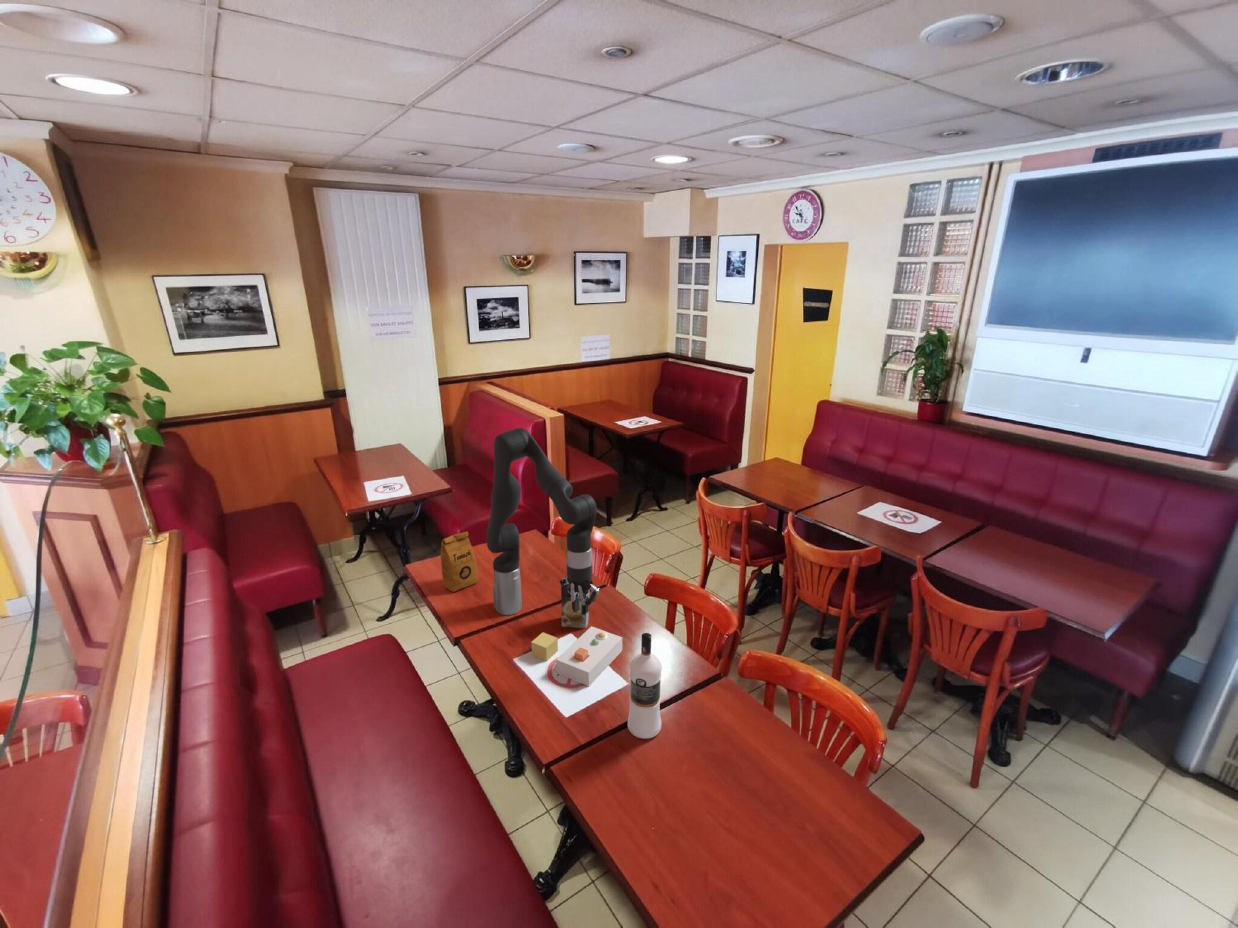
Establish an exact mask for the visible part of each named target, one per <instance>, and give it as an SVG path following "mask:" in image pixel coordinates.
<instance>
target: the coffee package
mask: <svg viewBox="0 0 1238 928" xmlns="http://www.w3.org/2000/svg"><path fill="white" fill-rule="evenodd" d="M440 545H441V546H440V565H441V573H442V574H441V575H442V581H443V582H442V583H443V586H444V587H445V588H446V589H448V591H450V592H452V593H453V592H454V593H455V592H456V591H458V590H461V589H464V588H467V587H471V586H473V585H476V584H477V583H478V581H479V575H478V565H477V559H476V556H475V552H474V549H473V546H472V544H471V541H470V538H469V532H468V531H464V532H460V533H457V534H453V535H449V536H448V537H445V538H443V539H442V540H441V544H440Z"/></svg>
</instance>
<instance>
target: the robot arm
mask: <svg viewBox="0 0 1238 928" xmlns="http://www.w3.org/2000/svg"><path fill="white" fill-rule="evenodd" d="M525 457H527V458H528V459H530V460H531V461H532V462H533V465H534V470H535V472H534V473H535V479H536V483H537V484H538V486H539V488H540V489H541V490H542V491H543V492H544V493H545V494H546V496H548V498H550V500H551V501H552V502H553V505H554V507H555V509H556V510H557V512H558V515H559V516H560V519H561V520H562V521H563V522H564V523H565V524H567V525H571V527H570V528H569V529H568V530H567V531H566V554H565V555H566V576H564V577H563V578H561V579H560V580H559V584H560V587H561V586H562V588H563V591H564V593H565V595H566V597H567V598H570V599H571V601H572V609H573V612H575V613H576V612H577V611H578V610H579V599H578V597H579V594H580V598H581V600H582V605H581V609H582V615H585V614H586V613H588V611H589V610H590V609H589V607H590V606H591V604H593V603H594V602H595V601H596V599H597V598H598V596H599V594H600V592H601V591H602V588H601V587H599V586H598V587H596V586H595V585H594V582H593V580H592V579H593V549H592V532H593V530H594V525H595V522H596V518H597V511H598V510H597V503H596V501H595V499H594V498H593V497H592V496H591V495H590V494H580V495H577V496H576V497H573V498H570V497H571V496H572V494H573V491H574V489H573V486H572V484H571V483H570V482H569V481H568V480H567V479H566V478H565V477H564V476H563V475H562V474H561V473H560V472H559V471H558V470H557V468H555V467H554V465H553V464H552V463H551V461H550V460H549V458H548V457H547V455H546V454H545V452H544V451H543V450H542V448H541V447H540V445H539V444H538V443H537V441H536V440H535V438H534V436H532V435H531V433H530V432H529V431H528V430H527V429H525V428H524V427H517V428H516V427H515V428H514V429H509V430H507V431H504V432H500V433H499V434H497V435H496V436H495V438H494V440H493V482H492V490H491V502H490V503H491V504H490V515H489V519H488V524H487V529H486V539H485V540H486V547H487V549H488V551H489V552H491V554H499V555H497V556H496V557H495V558H494V559H493V561H492V569H493V579H494V582H493V583H494V584H493V585H492V597H493V609H494V610H496V612H497V613H498V614H500V615H501V616H502V615H503V616H509V615H511V616H512V615H515V614H518V613H519V612H520V611H521V610H522V608H523V604H522V603H523V602H522V585H521V572H520V571H521V567H520V560H521V558H520V556H521V554H520V553H521V552H520V547H521V546H520V543H521V541H520V532H519V529H518V527H517V526H516V524H515V523H511V522H510V523H506V522H508V520H509V519H510V518H511V517H513V515H514V514H515V512H516V511H517V509H518V508H519V505H520V502H521V493H522V487H521V485H520V482H519V481H518V480H517V478H516V477H515V476H514V475H513V473H512V472H511V466H512V464H513V462H515V461H518V460H520V459H523V458H525ZM568 591H569V592H568Z"/></svg>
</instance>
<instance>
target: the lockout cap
mask: <svg viewBox="0 0 1238 928" xmlns="http://www.w3.org/2000/svg"><path fill="white" fill-rule="evenodd" d="M558 640H559V639H558V637H556V636H553V635H551V634H548V633H546V632H541V633H540V634H539V635H537V637H535V638H534V639H533V640H532V641H531V642H530V643H531V655H532V656H534V657H536V658H539V659H541V660H543V661H545V662H547V661H549V660H550V659H551V658H553V656H554V655H555V654H556V653H557V652H559V641H558Z"/></svg>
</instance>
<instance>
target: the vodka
mask: <svg viewBox="0 0 1238 928" xmlns="http://www.w3.org/2000/svg"><path fill="white" fill-rule="evenodd" d="M640 639H641V641H640V642H641V644H640V645H641V646H640V647H641V648H640V651H641V653H638V654H636V655H635V656H634V657H633V658H632V659H631V661H630V664H629V677H630V682H629V683H630V687H629V688H630V691H629V692H630V693H629V694H630V695H629V713H628V716H627V728H628V730H629V732H630V734H631V735H632V736H635V738H638V739H642V740H643V739H645V740H647V739H652V738H654V737H656V736H657V735H658V734H659V733H660V731H661V729H662V718H661V709H660V708H661V707H660V704H661V681H662V680H661V679H662V668H663V666H662V663H661V661H660V659H659V658H658V657H657V656H656V655H654V654H652V634H651V633H649V632H643V633H642V634H641V638H640Z"/></svg>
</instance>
